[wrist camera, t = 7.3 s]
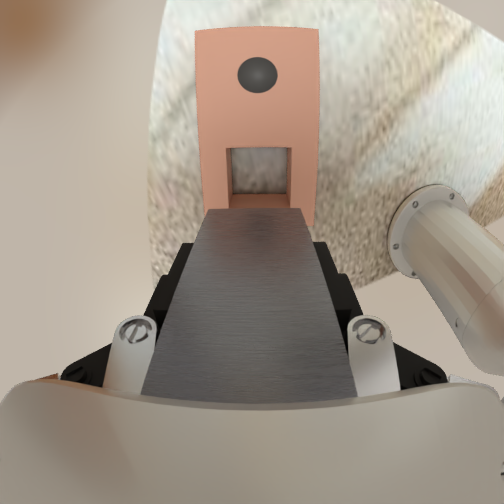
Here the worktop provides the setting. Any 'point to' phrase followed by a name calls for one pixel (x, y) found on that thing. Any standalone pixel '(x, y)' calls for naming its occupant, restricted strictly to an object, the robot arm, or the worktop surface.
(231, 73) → the bore block
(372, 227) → the worktop surface
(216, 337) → the square peg
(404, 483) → the robot arm
